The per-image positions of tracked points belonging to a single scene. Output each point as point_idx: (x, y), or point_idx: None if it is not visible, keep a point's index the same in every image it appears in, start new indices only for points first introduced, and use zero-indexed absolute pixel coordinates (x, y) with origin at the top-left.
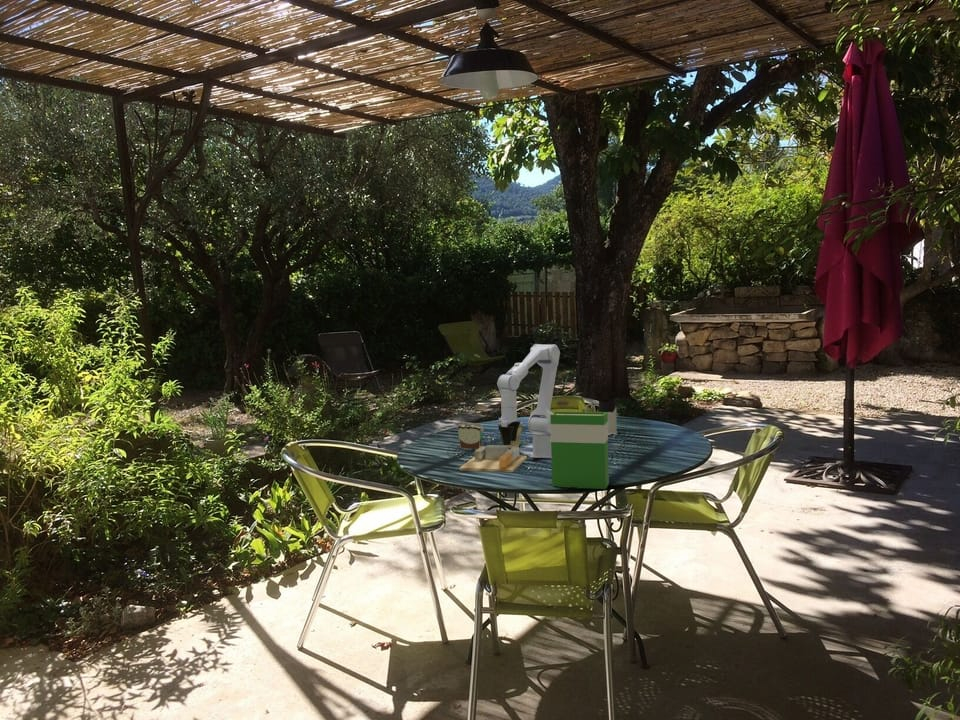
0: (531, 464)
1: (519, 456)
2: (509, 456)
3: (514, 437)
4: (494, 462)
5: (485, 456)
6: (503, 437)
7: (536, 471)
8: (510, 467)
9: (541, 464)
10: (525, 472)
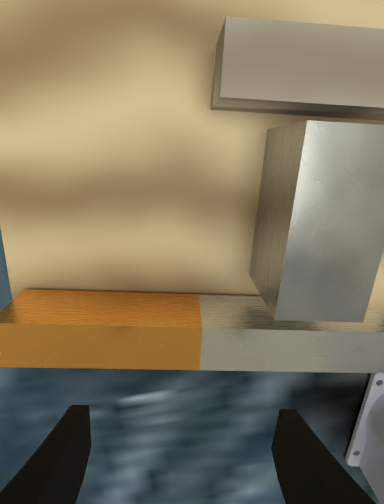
0: (221, 396)
1: None
2: (103, 363)
3: (284, 480)
4: (188, 218)
5: (274, 131)
6: (17, 487)
7: None
8: None
9: (224, 433)
10: (47, 401)
